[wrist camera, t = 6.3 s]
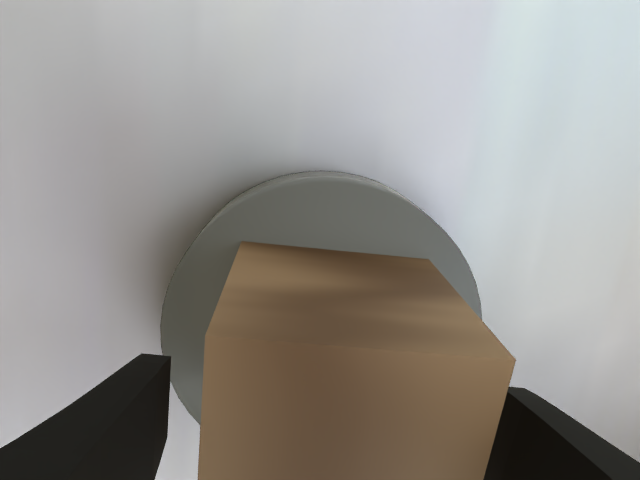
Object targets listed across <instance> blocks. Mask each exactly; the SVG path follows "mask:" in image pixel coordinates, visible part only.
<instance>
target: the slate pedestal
mask: <svg viewBox="0 0 640 480" xmlns="http://www.w3.org/2000/svg"><path fill="white" fill-rule="evenodd" d="M241 241H245V242H256V243H266V244H276V245H287V246H297V247H307V248H318V249H328V250H338V251H349V252H359V253H370V254H380V255H390V256H401V257H411V258H421V259H429V260H430V261H431V262H432V263H433V265H434V266H435V267H436V268H437V269H438V270H439V272H440V273H441V274H442V275H443V276H444V277H445V278H446V280H447V281H448V282H449V283H450V284H451V285H452V287H453V288H454V289H455V290H456V291H457V292H458V293H459V295H460V296H461V297H462V298H463V299H464V300H465V302H466V303H467V304H468V305H469V306H470V307H471V309H472V310H473V311H474V312H475V313H476V314H477V315H478V317H479V318H480V319H481V320H482V314H481V303H480V298H479V294H478V290H477V285H476V282H475V279H474V277H473V274H472V272H471V270H470V267H469V265H468V263H467V261H466V260H465V258H464V256H463V254H462V253H461V251H460V249H459V248H458V246H457V245H456V244H455V243H454V241H453V240H452V239H451V238H450V237H449V235H448V234H447V233H446V232H445V231H444V230H443V229H442V228H441V227H440V226H439V225H438V224H437V223H436V222H435V221H433V220H432V219H431V218H430V217H429V216H428V215H427V214H425V213H424V212H423V211H422V210H421V209H420V208H418V207H417V206H416V205H415V204H414V203H412V202H411V201H410V200H408V199H407V198H405V197H404V196H403V195H401V194H400V193H398V192H397V191H395V190H393V189H391V188H389V187H387V186H385V185H383V184H381V183H379V182H376V181H374V180H371V179H368V178H365V177H362V176H358V175H353V174H348V173H343V172H331V171H312V172H300V173H295V174H290V175H285V176H281V177H278V178H275V179H272V180H269V181H266V182H263V183H261V184H259V185H257V186H255V187H253V188H251V189H249V190H247V191H245V192H243V193H242V194H241V195H239V196H238V197H236V198H235V199H233V200H232V201H230V202H229V203H228V204H227V205H225V206H224V207H223V208H222V209H221V210H220V211H219V212H218V213H217V214H215V215H214V217H213V218H212V219H211V220H210V221H209V223H208V224H207V225H206V226H205V227H204V228H203V230H202V231H201V232H200V234H199V235H198V236H197V238H196V239H195V241H194V242H193V243H192V245H191V246H190V247H189V249H188V250H187V252H186V253H185V255H184V257H183V258H182V260H181V261H180V263H179V265H178V266H177V268H176V270H175V272H174V274H173V277H172V279H171V281H170V284H169V286H168V289H167V292H166V296H165V300H164V304H163V308H162V317H161V325H160V327H161V347H162V353H163V356H171V371H170V382H171V384H172V385H173V387H174V389H175V391H176V393H177V395H178V397H179V399H180V400H181V402H182V403H183V405H184V406H185V408H186V409H187V411H188V412H189V413H190V415H191V416H192V417H193V418H194V419H195V420H196V421H197V422H198V423H199V424H200V425H201V406H202V387H203V368H204V348H205V335H206V332H207V330H208V327H209V324H210V322H211V319H212V317H213V314H214V311H215V309H216V306H217V304H218V301H219V298H220V296H221V293H222V291H223V288H224V285H225V283H226V280H227V278H228V275H229V272H230V270H231V267H232V265H233V262H234V260H235V257H236V254H237V252H238V249H239V247H240V244H241Z"/></svg>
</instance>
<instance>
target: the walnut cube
mask: <svg viewBox="0 0 640 480" xmlns="http://www.w3.org/2000/svg"><path fill="white" fill-rule="evenodd" d="M515 361H516V359H515V358H514V357H513V356H512V355H511V354H510V352H509V351H508V350H507V349H506V348H505V347H504V346H503V344H502V343H501V342H500V341H499V340H498V339H497V337H496V336H495V335H494V334H493V333H492V332H491V331H490V329H489V328H488V327H487V326H486V325H485V324H484V322H483V321H482V320H481V319H480V318H479V317H478V315H477V314H476V313H475V312H474V311H473V310H472V309H471V307H470V306H469V305H468V304H467V303H466V302H465V300H464V299H463V298H462V297H461V296H460V295H459V293H458V292H457V291H456V290H455V289H454V288H453V287H452V285H451V284H450V283H449V282H448V281H447V280H446V278H445V277H444V276H443V275H442V274H441V273H440V272H439V270H438V269H437V268H436V267H435V266H434V265H433V263H432V262H431V261H430V260H429V259H421V258H411V257H401V256H390V255H380V254H370V253H359V252H349V251H338V250H328V249H318V248H307V247H297V246H287V245H276V244H266V243H256V242H245V241H241V244H240V247H239V249H238V252H237V254H236V257H235V260H234V262H233V265H232V267H231V270H230V272H229V275H228V278H227V280H226V283H225V285H224V288H223V291H222V293H221V296H220V298H219V301H218V304H217V306H216V309H215V311H214V314H213V317H212V319H211V322H210V324H209V327H208V330H207V332H206V335H205V348H204V368H203V387H202V406H201V425H200V445H199V464H198V480H483V479H484V475H485V471H486V468H487V464H488V460H489V457H490V453H491V449H492V446H493V442H494V438H495V435H496V431H497V427H498V424H499V420H500V416H501V413H502V409H503V405H504V402H505V398H506V394H507V391H508V387H509V383H510V380H511V376H512V372H513V369H514V365H515Z"/></svg>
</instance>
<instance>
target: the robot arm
mask: <svg viewBox="0 0 640 480" xmlns="http://www.w3.org/2000/svg"><path fill="white" fill-rule="evenodd" d="M170 371H171V356H163V355H152V354H140V355H139V356H137V357H136V358H135V359H133V360H132V361H130V362H129V363H128V364H126V365H125V366H123V367H122V368H121V369H119V370H118V371H117V372H115V373H114V374H112V375H111V376H110V377H108V378H107V379H106V380H104V381H103V382H101V383H100V384H99V385H97V386H96V387H95V388H93V389H92V390H90V391H89V392H87V393H86V394H85V395H83V396H82V397H80V398H79V399H77V400H76V401H75V402H73V403H72V404H70V405H69V406H67V407H66V408H64V409H63V410H61V411H60V412H58V413H57V414H55V415H53V416H52V417H50V418H49V419H47V420H46V421H44V422H42V423H41V424H39V425H38V426H36V427H35V428H33V429H31V430H30V431H28V432H27V433H25V434H24V435H22V436H20V437H19V438H17V439H16V440H14V441H12V442H10V443H9V444H7V445H5V446H4V447H2V448H0V480H154V479H155V476H156V473H157V470H158V467H159V463H160V460H161V457H162V453H163V450H164V447H165V443H166V440H167V431H168V411H169V391H170ZM483 480H640V463H639V462H638V461H636V460H634V459H633V458H631V457H630V456H628V455H627V454H625V453H624V452H622V451H621V450H619V449H618V448H616V447H615V446H613V445H612V444H610V443H609V442H607V441H606V440H604V439H603V438H601V437H600V436H598V435H597V434H595V433H594V432H592V431H591V430H589V429H588V428H586V427H585V426H583V425H582V424H580V423H579V422H577V421H576V420H575V419H573V418H572V417H570V416H569V415H567V414H566V413H564V412H563V411H561V410H560V409H558V408H557V407H555V406H553V405H552V404H550V403H549V402H547V401H546V400H544V399H542V398H541V397H539V396H538V395H536V394H534V393H532V392H530V391H529V390H527V389H525V388H516V387H508V391H507V394H506V398H505V402H504V405H503V409H502V413H501V416H500V420H499V424H498V427H497V431H496V435H495V438H494V442H493V446H492V449H491V453H490V457H489V460H488V464H487V468H486V471H485V475H484V479H483Z"/></svg>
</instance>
